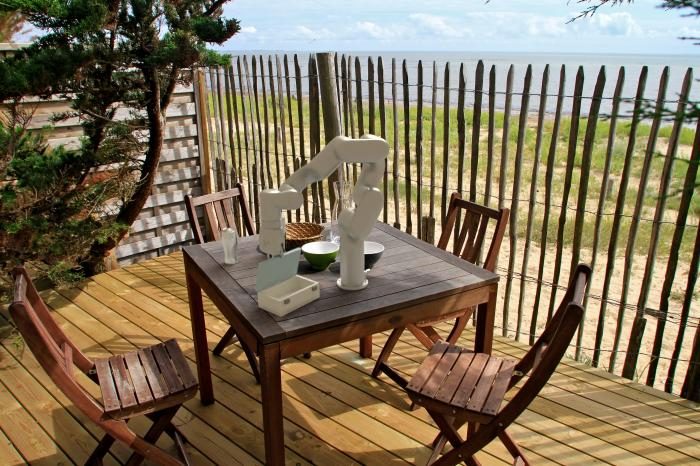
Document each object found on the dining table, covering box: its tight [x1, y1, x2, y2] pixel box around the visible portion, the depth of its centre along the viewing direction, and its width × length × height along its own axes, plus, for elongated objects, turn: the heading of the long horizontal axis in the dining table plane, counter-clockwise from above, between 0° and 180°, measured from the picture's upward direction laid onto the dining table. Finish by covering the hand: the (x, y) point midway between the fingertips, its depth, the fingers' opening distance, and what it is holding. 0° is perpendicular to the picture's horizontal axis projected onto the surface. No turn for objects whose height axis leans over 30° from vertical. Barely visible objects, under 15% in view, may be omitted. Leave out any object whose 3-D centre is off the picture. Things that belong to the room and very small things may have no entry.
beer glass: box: [220, 227, 239, 265], centre depth 232 cm, size 7×7×15 cm
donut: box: [319, 227, 332, 241], centre depth 249 cm, size 10×4×10 cm, turn 91°
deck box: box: [256, 274, 321, 317], centre depth 195 cm, size 20×13×6 cm, turn 140°
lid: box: [254, 247, 302, 292], centre depth 196 cm, size 20×12×1 cm
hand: (274, 269), depth 197 cm, fingers closed
